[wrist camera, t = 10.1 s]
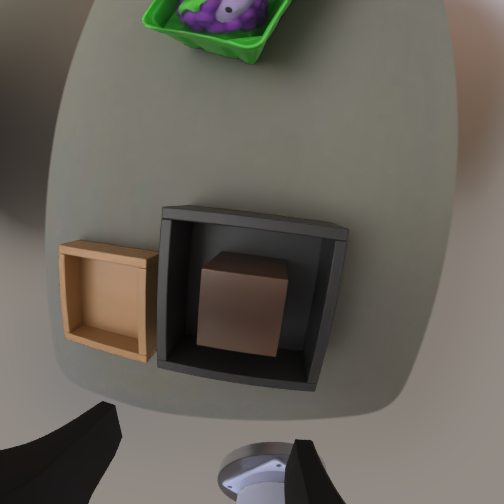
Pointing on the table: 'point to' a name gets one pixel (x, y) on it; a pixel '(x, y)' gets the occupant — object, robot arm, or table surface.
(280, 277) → the walnut block
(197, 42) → the fruit basket
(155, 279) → the kraft box
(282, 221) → the black basket
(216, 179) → the table surface
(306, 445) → the robot arm
